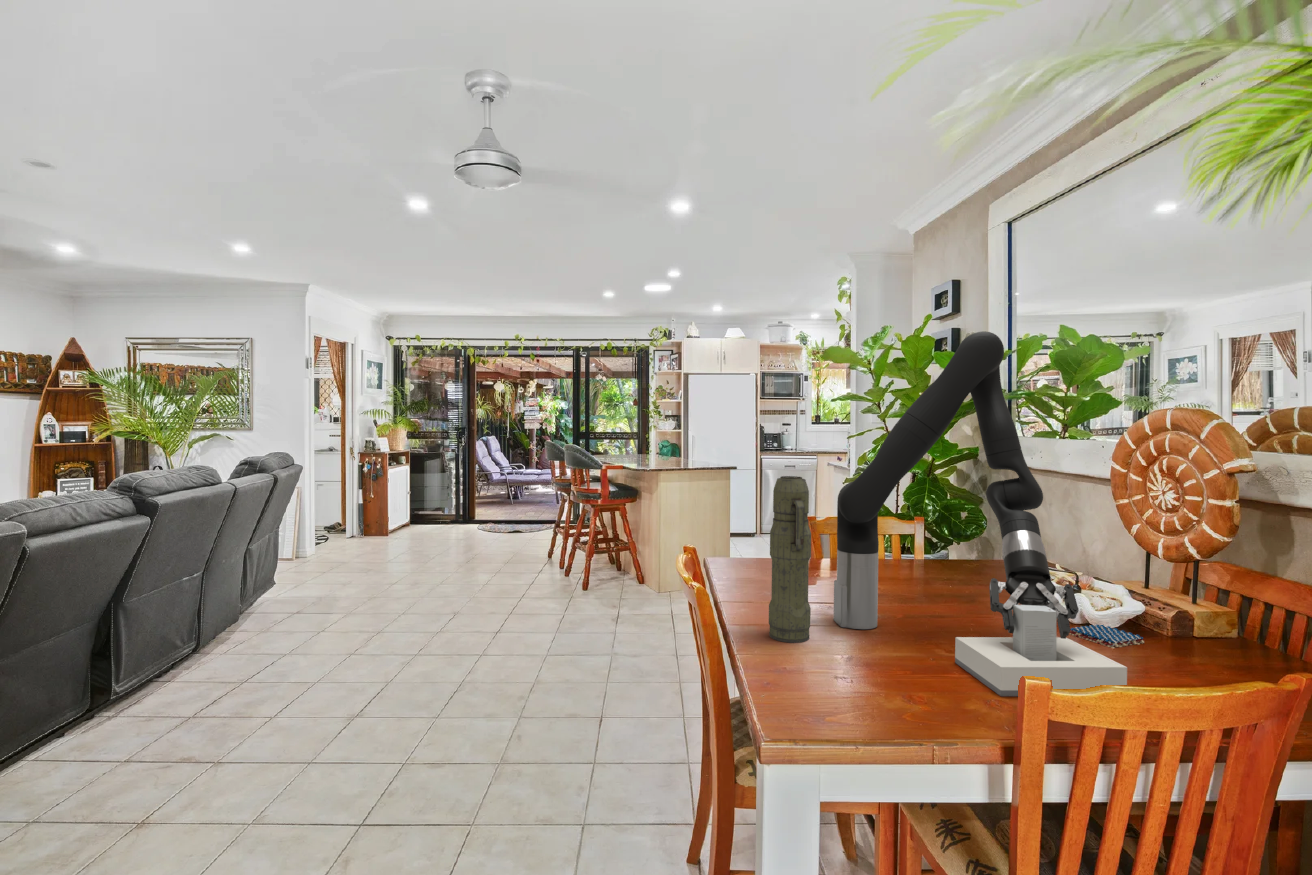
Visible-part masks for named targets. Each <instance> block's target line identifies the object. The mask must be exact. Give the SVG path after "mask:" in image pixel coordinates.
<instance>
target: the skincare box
mask: <svg viewBox="0 0 1312 875" xmlns="http://www.w3.org/2000/svg"><path fill="white" fill-rule="evenodd" d="M1012 614H1013V621H1014V632H1013V633H1012V637H1013V651H1015V652H1016V653H1018V654H1020V655H1022V656H1023V657H1025V658H1027V659H1028V660H1030V661H1056V643H1057V642H1056V641H1057V640H1056V637H1057V635H1058V634H1057V629H1058V628H1057V626H1058V622H1057V620H1058V618H1057V612H1056V611H1054V610H1053V609H1051V608H1049V607H1047V606H1040V605H1021V604H1018V605H1013V610H1012Z"/></svg>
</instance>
